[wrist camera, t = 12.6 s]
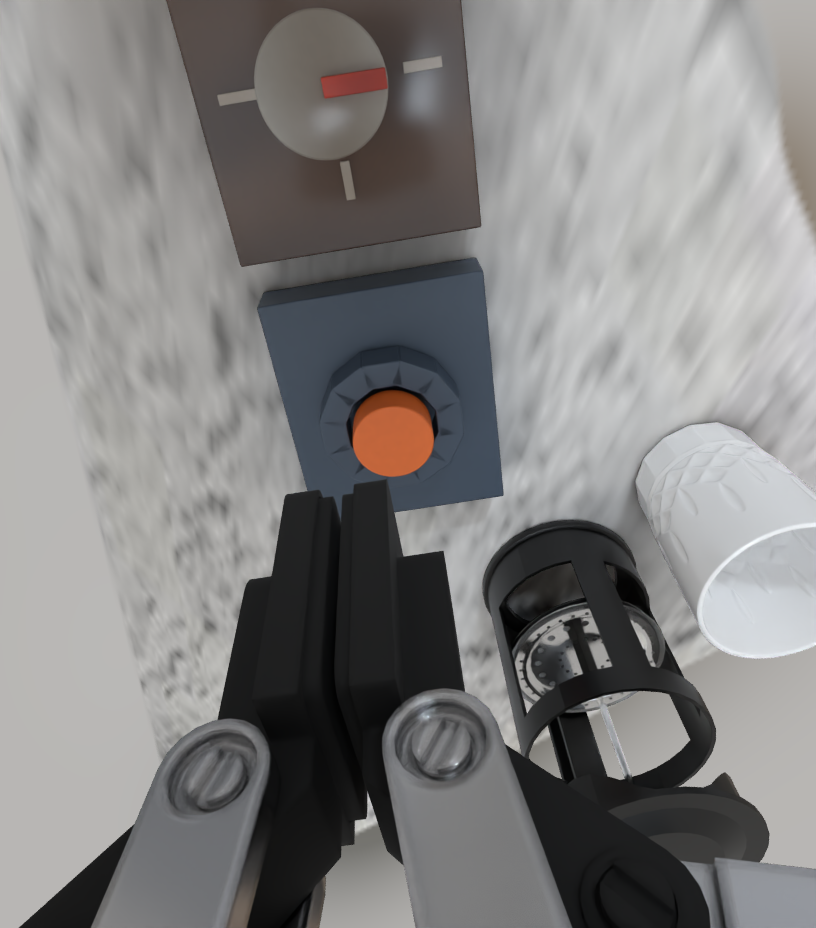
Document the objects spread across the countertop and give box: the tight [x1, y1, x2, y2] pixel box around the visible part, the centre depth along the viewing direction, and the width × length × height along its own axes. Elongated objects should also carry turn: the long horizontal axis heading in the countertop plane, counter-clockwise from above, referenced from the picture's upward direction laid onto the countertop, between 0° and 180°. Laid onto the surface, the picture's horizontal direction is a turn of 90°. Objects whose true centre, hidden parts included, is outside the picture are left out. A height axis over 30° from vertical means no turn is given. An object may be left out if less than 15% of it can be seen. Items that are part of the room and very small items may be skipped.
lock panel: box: [166, 0, 481, 267], centre depth 26 cm, size 12×10×3 cm
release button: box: [353, 390, 434, 477], centre depth 31 cm, size 4×4×2 cm
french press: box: [483, 520, 769, 865], centre depth 32 cm, size 12×9×23 cm
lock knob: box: [254, 8, 388, 160], centre depth 22 cm, size 4×4×5 cm
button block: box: [257, 258, 504, 520], centre depth 33 cm, size 12×10×4 cm
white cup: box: [635, 422, 816, 659], centre depth 34 cm, size 8×8×10 cm
